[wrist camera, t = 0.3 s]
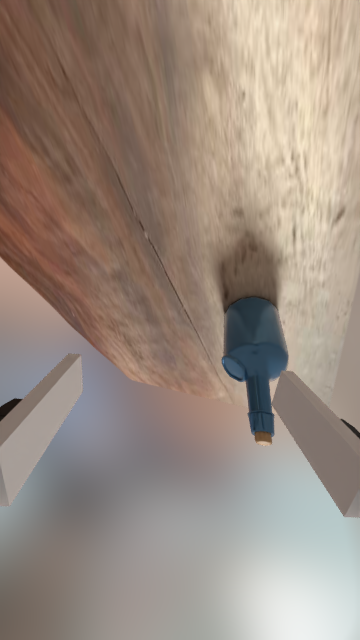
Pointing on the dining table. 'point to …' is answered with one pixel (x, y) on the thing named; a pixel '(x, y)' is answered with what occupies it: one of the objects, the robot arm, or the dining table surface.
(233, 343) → the wine bottle
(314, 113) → the dining table surface
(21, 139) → the dining table surface
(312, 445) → the robot arm
